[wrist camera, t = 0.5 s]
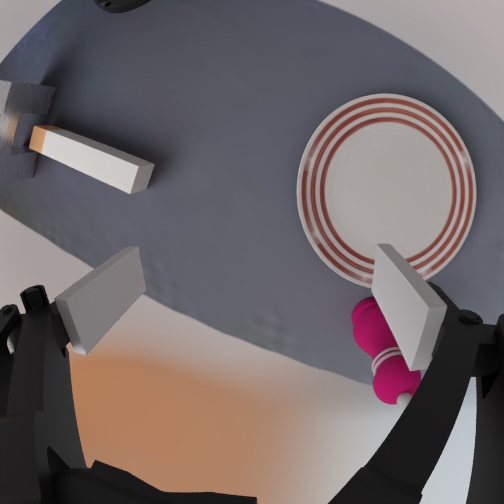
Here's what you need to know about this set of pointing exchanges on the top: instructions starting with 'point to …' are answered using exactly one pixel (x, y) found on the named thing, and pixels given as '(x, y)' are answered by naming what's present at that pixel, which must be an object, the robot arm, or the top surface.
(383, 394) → the pepper mill
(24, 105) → the grey arch-shaped block
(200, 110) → the top surface
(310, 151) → the dinner plate
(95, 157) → the white and orange bar
